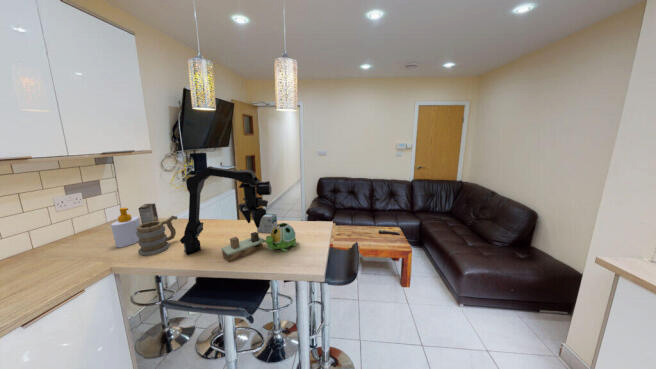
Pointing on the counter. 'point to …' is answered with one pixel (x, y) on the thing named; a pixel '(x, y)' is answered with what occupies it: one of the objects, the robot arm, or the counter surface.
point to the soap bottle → (125, 229)
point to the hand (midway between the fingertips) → (253, 225)
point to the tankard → (154, 236)
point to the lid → (240, 245)
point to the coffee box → (148, 213)
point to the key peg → (254, 238)
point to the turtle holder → (281, 237)
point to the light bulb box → (267, 223)
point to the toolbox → (241, 253)
